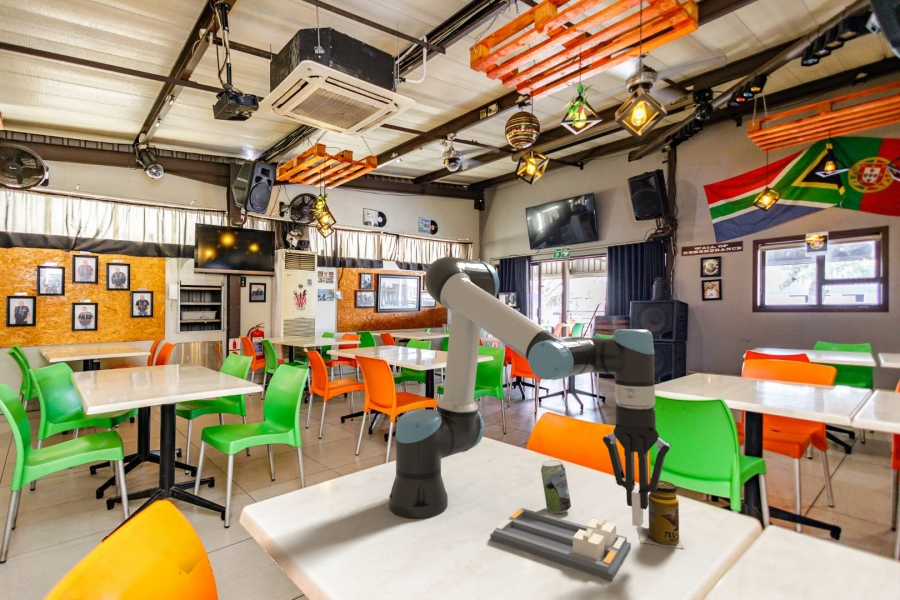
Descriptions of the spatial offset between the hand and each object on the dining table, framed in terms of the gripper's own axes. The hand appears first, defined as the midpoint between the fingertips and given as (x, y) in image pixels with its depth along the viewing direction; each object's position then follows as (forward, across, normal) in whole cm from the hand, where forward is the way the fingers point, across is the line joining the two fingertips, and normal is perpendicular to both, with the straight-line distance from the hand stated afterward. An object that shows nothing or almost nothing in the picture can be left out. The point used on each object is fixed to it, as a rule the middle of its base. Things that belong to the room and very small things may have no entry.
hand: (637, 523), depth 90 cm
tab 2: (+6, -7, 0) cm, 9 cm away
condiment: (+8, +2, +12) cm, 15 cm away
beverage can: (+7, -22, +12) cm, 27 cm away
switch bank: (+7, -15, -3) cm, 17 cm away
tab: (+6, -8, -6) cm, 12 cm away
